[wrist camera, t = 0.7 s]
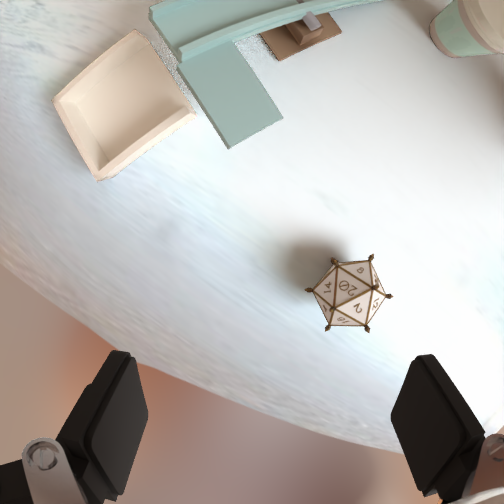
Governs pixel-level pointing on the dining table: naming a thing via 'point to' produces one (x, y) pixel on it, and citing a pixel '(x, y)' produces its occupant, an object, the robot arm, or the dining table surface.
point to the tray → (122, 106)
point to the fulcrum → (299, 36)
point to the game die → (349, 293)
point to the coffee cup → (469, 28)
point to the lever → (230, 54)
